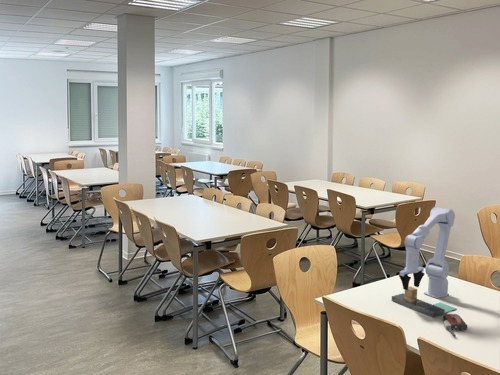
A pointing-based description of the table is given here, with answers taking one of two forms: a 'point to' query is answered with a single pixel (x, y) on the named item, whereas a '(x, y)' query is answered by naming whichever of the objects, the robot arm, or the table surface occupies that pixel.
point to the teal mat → (445, 307)
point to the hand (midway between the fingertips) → (411, 288)
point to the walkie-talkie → (454, 323)
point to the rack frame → (419, 306)
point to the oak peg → (410, 294)
